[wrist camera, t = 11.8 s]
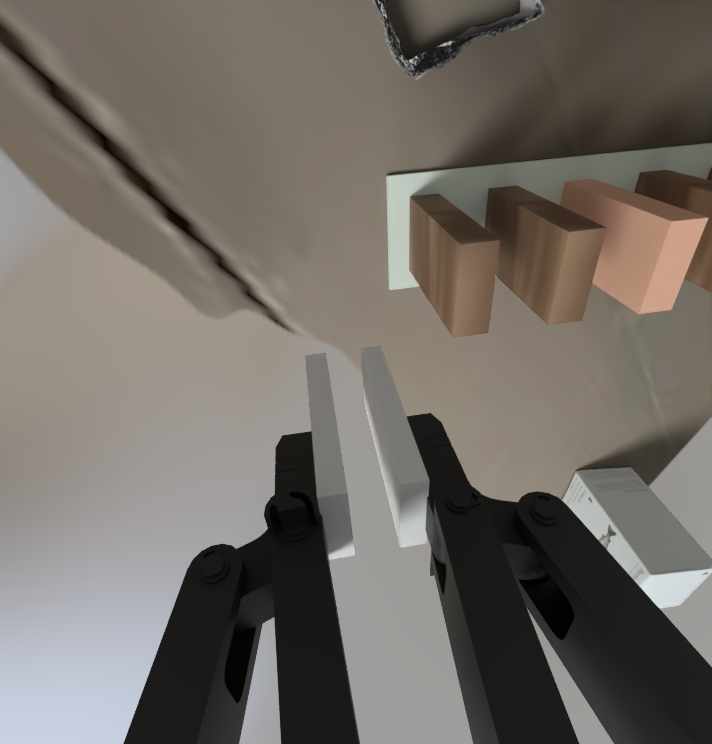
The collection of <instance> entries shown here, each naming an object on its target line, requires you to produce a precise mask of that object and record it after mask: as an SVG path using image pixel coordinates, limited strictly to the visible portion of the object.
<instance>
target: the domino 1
mask: <svg viewBox="0 0 712 744" xmlns="http://www.w3.org/2000/svg"><path fill="white" fill-rule="evenodd" d="M499 244H500V240H499V239H498V238H497V237H495V236H494V235H493V234H491V233H490V232H489V231H487V230H486V229H485V228H484V227H482V226H481V225H480V224H478V223H477V222H476V221H474V220H473V219H472V218H470V217H469V216H468V215H466V214H465V213H464V212H462V211H461V210H460V209H458V208H457V207H456V206H455V205H453V204H452V203H451V202H449V201H448V200H447V199H445V198H444V197H443V196H441V195H440V194H429V195H420V196H410V227H409V271H410V272H411V274H412V275H413V277H414V278H415V280H416V281H417V283H418V284H419V286H420V288H421V289H422V291H423V292H424V294H425V295H426V297H427V298H428V300H429V301H430V303H431V304H432V306H433V308H434V309H435V311H436V312H437V314H438V315H439V317H440V318H441V320H442V321H443V323H444V324H445V326H446V328H447V329H448V331H449V332H450V334H451V335H452V337H461V336H469V335H476V334H484V333H488V329H489V321H490V313H491V306H492V298H493V290H494V283H495V275H496V267H497V259H498V252H499Z"/></svg>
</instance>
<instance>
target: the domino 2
mask: <svg viewBox="0 0 712 744" xmlns="http://www.w3.org/2000/svg"><path fill="white" fill-rule="evenodd" d="M484 228H485V229H486V230H487V231H489V232H490V233H491V234H493V235H494V236H495V237H497V238H498V239H499V240H500V244H499V252H498V259H497V267H496V275H495V276H497V277H498V278H499V279H500V280H501V281H502V282H503V283H504V284H505V285H506V286H507V287H508V288H509V289H510V290H511V291H512V292H514V293H515V294H516V295H517V296H518V297H519V298H520V299H521V300H522V301H523V302H524V303H525V304H526V305H527V306H528V307H529V308H531V309H532V310H533V311H534V312H535V313H536V314H537V315H538V316H539V317H540V318H541V319H542V320H543V321H544V322H545V323H546V324H548V325H552V324H560V323H567V322H575V321H582V318H583V314H584V311H585V307H586V303H587V300H588V296H589V292H590V288H591V285H592V281H593V277H594V274H595V270H596V266H597V263H598V259H599V255H600V252H601V248H602V244H603V240H604V237H605V233H606V229H607V228H606V227H604V226H602V225H600V224H598V223H596V222H594V221H592V220H589V219H587V218H585V217H583V216H581V215H579V214H577V213H575V212H572V211H570V210H568V209H566V208H564V207H562V206H560V205H558V204H555V203H553V202H551V201H549V200H547V199H545V198H543V197H541V196H538V195H536V194H534V193H532V192H530V191H528V190H526V189H524V188H521V187H519V186H517V185H515V186H505V187H496V188H489V190H488V199H487V208H486V218H485V227H484Z"/></svg>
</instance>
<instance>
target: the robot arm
mask: <svg viewBox="0 0 712 744" xmlns="http://www.w3.org/2000/svg"><path fill="white" fill-rule="evenodd" d="M305 357H306V369H307V381H308V393H309V405H310V418H311V430H312V431H311V432H304V433H298V434H291V435H283V436H282V437H281V439H280V441H279V443H278V445H277V447H276V460H275V461H276V464H275V473H276V474H275V495H274V496H273V497H271V499H270V500H269V502H268V503H267V505H266V507H265V512H264V517H265V520H266V523H267V526H268V529H267V531H266V532H265V533H264V534H263V535H261V536H260V537H259V538H257V539H256V540H254V541H252V542H250V543H248V544H246V545H244V546H242V547H240V548H237V549H235V548H234V547H233V546H231V545H226V544H219V545H214V546H211V547H209V548H207V549H205V550H203V551H201V552H200V553H199V554H198V555H197V556H196V557H195V558H194V559H193V561H192V562H191V564H190V566H189V568H188V569H187V572H186V575H185V577H184V580H183V583H182V586H181V588H180V591H179V594H178V597H177V599H176V602H175V605H174V608H173V610H172V613H171V616H170V618H169V621H168V624H167V627H166V629H165V632H164V635H163V638H162V640H161V643H160V646H159V648H158V651H157V654H156V657H155V660H154V662H153V665H152V667H151V670H150V673H149V676H148V678H147V681H146V684H145V687H144V689H143V692H142V695H141V698H140V700H139V703H138V706H137V708H136V711H135V714H134V717H133V719H132V722H131V725H130V727H129V730H128V733H127V736H126V738H125V741H124V744H239V741H240V735H241V730H242V725H243V720H244V715H245V710H246V705H247V700H248V695H249V690H250V684H251V679H252V673H253V669H254V664H255V659H256V654H257V649H258V643H259V639H260V633H261V628H262V623H264V622H266V621H268V620H270V619H271V618H273V617H275V635H276V654H277V672H278V689H279V690H278V691H279V710H280V728H281V744H360V741H359V735H358V729H357V723H356V718H355V712H354V706H353V700H352V695H351V689H350V683H349V677H348V671H347V665H346V659H345V654H344V648H343V642H342V636H341V630H340V625H339V619H338V613H337V607H336V601H335V596H334V590H333V584H332V578H331V573H330V566H329V560H330V559H336V558H342V557H348V556H354V555H355V552H354V544H353V536H352V527H351V518H350V511H349V503H348V493H347V487H346V480H345V474H344V467H343V461H342V455H341V448H340V442H339V435H338V429H337V422H336V417H335V410H334V403H333V397H332V390H331V384H330V378H329V371H328V365H327V359H326V353H323V354H314V355H306V356H305ZM361 359H362V373H363V387H364V401H365V408H366V412H367V415H368V419H369V423H370V428H371V432H372V435H373V439H374V443H375V448H376V452H377V456H378V460H379V464H380V468H381V471H382V475H383V480H384V484H385V487H386V492H387V495H388V500H389V504H390V508H391V512H392V515H393V520H394V524H395V527H396V532H397V535H398V540H399V543H400V547H407V546H413V545H419V544H424V543H426V538H427V536H428V539H429V542H430V545H431V563H430V576H433V575H435V579H436V583H437V588H438V592H439V596H440V600H441V605H442V609H443V614H444V618H445V622H446V627H447V631H448V636H449V640H450V644H451V648H452V653H453V657H454V662H455V666H456V670H457V675H458V679H459V683H460V687H461V692H462V696H463V701H464V705H465V709H466V714H467V718H468V722H469V727H470V731H471V735H472V740H473V744H579V742H578V739H577V737H576V734H575V732H574V729H573V726H572V724H571V721H570V719H569V717H568V714H567V711H566V708H565V706H564V703H563V701H562V698H561V696H560V693H559V691H558V688H557V685H556V683H555V680H554V677H553V675H552V672H551V670H550V667H549V665H548V662H547V659H546V657H545V654H544V652H543V649H542V647H541V644H540V641H539V639H538V636H537V634H536V631H535V628H534V626H533V623H532V621H531V618H530V616H529V613H528V611H527V608H528V610H529V611H530V613H531V615H532V616H533V618H534V619H535V621H536V622H537V624H538V626H539V627H540V629H541V630H542V631H543V633H544V635H545V636H546V638H547V640H548V641H549V642H550V644H551V646H552V647H553V649H554V650H555V652H556V653H557V655H558V657H559V658H560V660H561V661H562V663H563V665H564V666H565V667H566V669H567V671H568V672H569V674H570V675H571V677H572V678H573V680H574V682H575V683H576V685H577V686H578V688H579V689H580V691H581V693H582V694H583V696H584V697H585V699H586V700H587V702H588V703H589V705H590V707H591V708H592V710H593V711H594V713H595V714H596V716H597V717H598V719H599V721H600V722H601V724H602V725H603V727H604V728H605V730H606V731H607V733H608V735H609V736H610V738H611V739H612V741H613V742H614V744H712V667H711V666H710V665H709V664H708V663H707V662H706V661H705V659H704V658H703V657H702V656H701V655H700V654H699V653H698V651H696V649H695V648H694V647H693V646H692V645H691V644H690V642H689V641H688V640H687V639H686V638H685V637H684V636H683V635H682V634H681V632H680V631H679V630H678V629H677V628H676V627H675V626H674V625H673V624H672V622H671V621H670V620H669V619H668V618H667V617H666V616H665V614H664V613H663V612H662V611H661V610H660V609H659V608H658V607H657V605H656V604H655V603H654V602H653V601H652V600H651V599H650V598H649V596H648V595H647V594H646V593H645V592H644V591H643V590H642V589H641V587H640V586H639V585H638V584H637V583H636V582H635V581H634V580H633V579H632V577H631V576H630V575H629V574H628V573H627V572H626V571H625V570H624V568H623V567H622V566H621V565H620V564H619V563H618V562H617V561H616V559H615V558H614V557H613V556H612V555H611V554H610V553H609V552H608V550H607V549H606V548H605V547H604V546H603V545H602V544H601V543H600V542H599V540H598V539H597V538H596V537H595V536H594V535H593V534H592V533H591V531H590V530H589V529H588V528H587V527H586V526H585V525H584V524H583V522H582V521H581V520H580V519H579V518H578V517H577V516H576V515H575V513H574V512H573V511H572V510H571V509H570V508H569V507H568V506H567V505H566V504H565V503H564V502H563V501H562V500H560V499H559V498H558V497H555V496H553V495H551V494H549V493H544V492H531V493H527V494H526V495H524V496H522V497H521V499H520V500H519V502H510V501H502V500H496V499H491V498H488V497H486V496H484V495H482V494H481V493H480V492H479V491H477V490H476V489H475V488H474V487H472V486H471V485H470V483H469V481H468V480H467V477H466V475H465V473H464V471H463V469H462V466H461V464H460V462H459V460H458V458H457V456H456V453H455V451H454V449H453V447H452V446H451V442H450V440H449V438H448V437H447V434H446V432H445V429H444V427H443V425H442V423H441V422H440V421H439V420H438V419H437V418H436V417H434V416H433V415H432V414H431V413H428V414H421V415H414V416H407V417H406V414H405V411H404V409H403V406H402V403H401V400H400V398H399V395H398V392H397V389H396V387H395V384H394V381H393V378H392V376H391V373H390V370H389V367H388V365H387V362H386V359H385V356H384V354H383V351H382V348H381V346H375V347H367V348H361ZM526 607H527V608H526Z"/></svg>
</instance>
